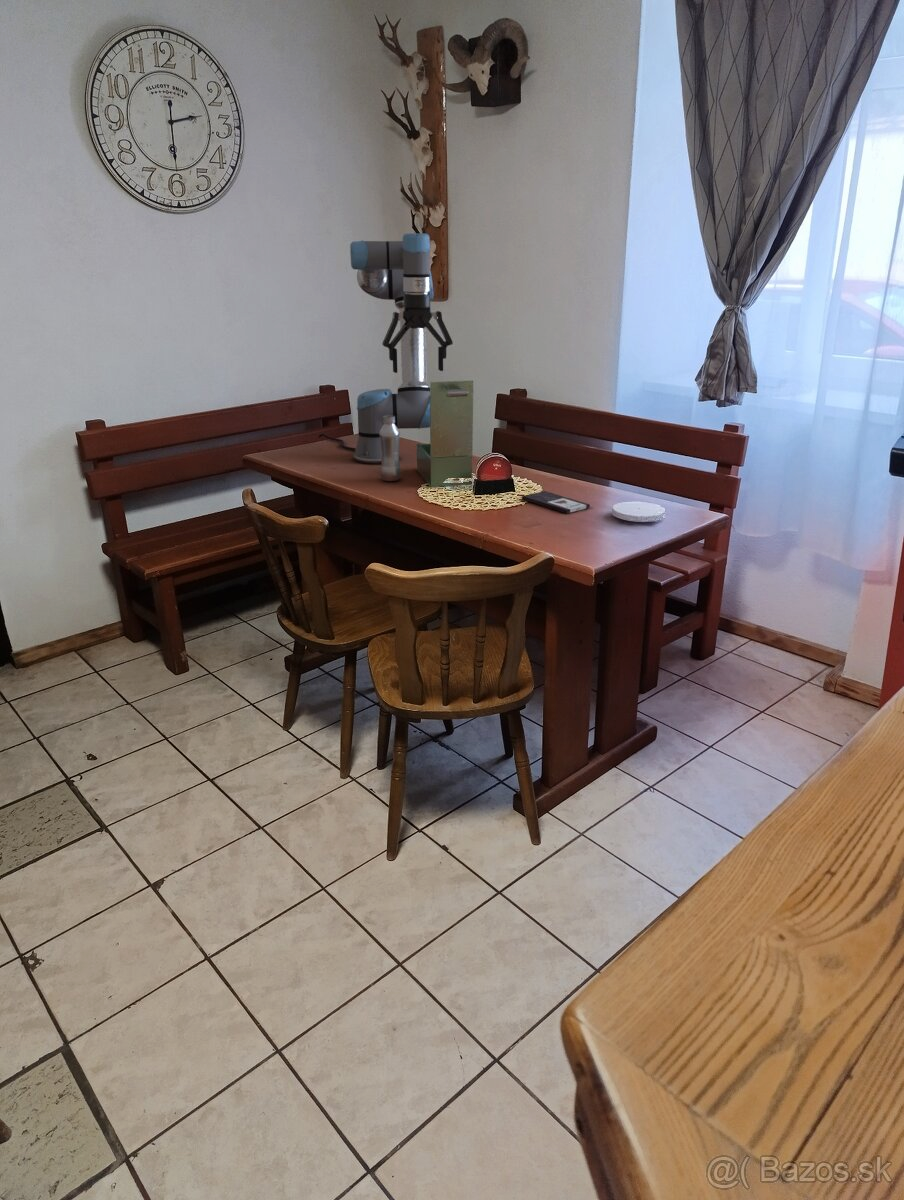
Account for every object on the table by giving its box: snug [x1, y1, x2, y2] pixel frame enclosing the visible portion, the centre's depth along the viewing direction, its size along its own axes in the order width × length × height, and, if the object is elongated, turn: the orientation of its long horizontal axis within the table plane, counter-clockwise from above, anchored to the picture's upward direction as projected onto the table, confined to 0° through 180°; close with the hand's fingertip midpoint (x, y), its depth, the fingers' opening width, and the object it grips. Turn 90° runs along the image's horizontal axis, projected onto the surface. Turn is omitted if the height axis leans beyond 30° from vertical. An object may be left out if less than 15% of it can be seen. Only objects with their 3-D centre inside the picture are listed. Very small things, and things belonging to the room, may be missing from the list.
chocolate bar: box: [521, 490, 590, 514], centre depth 231 cm, size 9×1×18 cm
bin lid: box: [429, 380, 474, 458], centre depth 238 cm, size 22×13×8 cm
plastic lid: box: [611, 501, 667, 523], centre depth 218 cm, size 14×14×2 cm
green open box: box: [416, 443, 473, 488], centre depth 257 cm, size 21×13×9 cm, turn 14°
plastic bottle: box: [379, 415, 402, 482], centre depth 251 cm, size 6×7×20 cm
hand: (418, 371), depth 236 cm, fingers open, 13 cm apart
